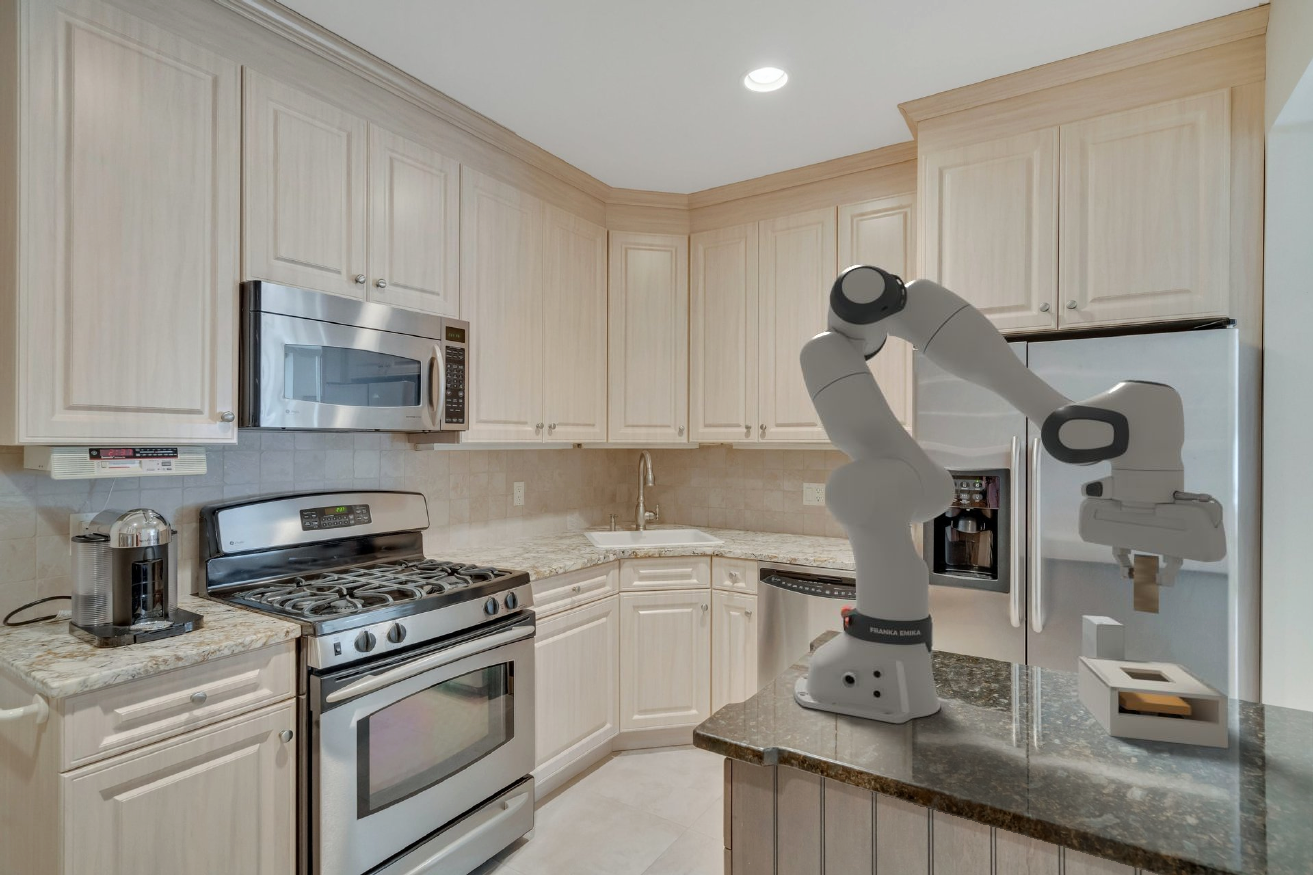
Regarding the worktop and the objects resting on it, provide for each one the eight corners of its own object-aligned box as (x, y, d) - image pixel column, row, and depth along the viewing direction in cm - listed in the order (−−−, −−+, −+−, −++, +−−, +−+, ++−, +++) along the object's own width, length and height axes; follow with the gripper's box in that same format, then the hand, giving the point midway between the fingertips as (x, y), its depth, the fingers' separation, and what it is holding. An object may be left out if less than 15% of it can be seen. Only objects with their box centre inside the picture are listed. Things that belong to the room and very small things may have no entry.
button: (1126, 720, 98) (1126, 700, 98) (1106, 699, 106) (1106, 681, 106) (1191, 726, 96) (1191, 706, 96) (1166, 705, 104) (1166, 687, 104)
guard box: (1110, 735, 96) (1110, 686, 96) (1078, 699, 110) (1078, 656, 110) (1227, 748, 92) (1227, 696, 93) (1180, 708, 106) (1180, 664, 106)
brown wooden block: (1133, 610, 101) (1133, 556, 101) (1133, 606, 103) (1134, 553, 103) (1158, 613, 99) (1159, 558, 99) (1158, 609, 102) (1158, 555, 102)
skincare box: (1125, 699, 110) (1125, 625, 110) (1096, 697, 111) (1096, 623, 111) (1108, 686, 116) (1108, 615, 116) (1081, 684, 117) (1081, 614, 117)
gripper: (1238, 494, 92) (1238, 596, 92) (1101, 484, 112) (1101, 568, 112) (1204, 495, 90) (1204, 599, 90) (1071, 484, 110) (1071, 570, 110)
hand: (1146, 581), depth 101 cm, fingers closed on brown wooden block, 4 cm apart
